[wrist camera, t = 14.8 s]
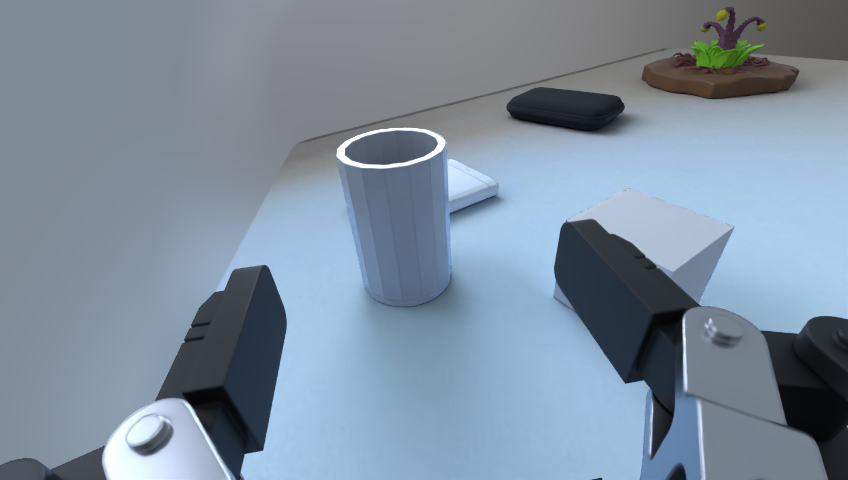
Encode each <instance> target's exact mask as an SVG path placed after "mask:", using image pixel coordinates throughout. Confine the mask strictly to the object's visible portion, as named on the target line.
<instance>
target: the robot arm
mask: <svg viewBox="0 0 848 480" xmlns="http://www.w3.org/2000/svg"><path fill="white" fill-rule="evenodd" d="M554 273H555V278H556V281H557V284H558V286H559V288H560V289H561V291H562V292H563V294H564V295H565V297H566V298H567V300H568V301H569V302H570V304H571V305H572V307H573V308H574V310H575V311H576V313H577V314H578V316H579V317H580V319H581V320H582V321H583V323H584V324H585V326H586V327H587V329H588V330H589V332H590V333H591V335H592V336H593V337H594V339H595V340H596V342H597V343H598V345H599V346H600V348H601V349H602V351H603V352H604V354H605V355H606V356H607V358H608V359H609V361H610V362H611V364H612V365H613V367H614V368H615V370H616V371H617V372H618V374H619V375H620V377H621V378H622V380H623V381H624V383H625V384H626V383H632V382H637V381H642V380H644V381H645V382H646V383H647V385H648V386H649V387H650V389H649V391H648V393H647V397H646V412H645V427H644V443H643V459H642V469H641V475H640V479H639V480H848V428H847V427H846V426H848V319H843V318H839V317H832V316H819V317H815V318H812V319H810V320H809V321H808V322H807V324H806V325H805V326H804V328H803V329H802V330H801V332H800V333H799V334H794V333H783V332H772V331H760V330H759V329H758V328H757V327H755V326H754V325H753V324H752V323H750V322H749V321H748V320H746V319H744V318H743V317H741V316H739V315H737V314H735V313H732V312H730V311H727V310H724V309H720V308H716V307H708V306H700V305H699V304H698V303H697V302H696V301H695V300H694V299H693V298H691V297H690V296H689V295H688V294H687V293H686V292H685V291H684V290H683V289H682V288H681V287H679V286H678V285H677V284H676V283H675V282H674V281H673V280H672V279H671V278H670V277H669V276H668V275H666V274H665V273H664V272H663V271H662V270H661V269H660V268H657V265H656V264H654V263H653V262H652V261H651V260H650V259H649V258H646V257H645V254H644V253H642V252H641V251H640V250H639V249H638V248H637V247H636V246H635V245H634V244H633V243H631V242H629V241H627V240H625V239H623V238H621V237H619V236H617V235H616V234H609V233H608V232H607V231H606V230H605V229H604V228H603V227H602V226H601V225H600V224H599V223H598V222H597V221H596V220H594V219H585V220H579V221H572V222H565V223H564V224H563V225H562V227H561V231H560V236H559V242H558V248H557V254H556V260H555V266H554ZM191 326H192V328H190V329H189V331H188V333H187V335H186V337H185V339H184V340H185V343H182V345H181V347H180V350H179V352H178V354H177V356H176V358H175V360H174V362H173V364H172V366H171V369H170V371H169V373H168V375H167V377H166V379H165V381H164V383H163V385H162V387H161V389H160V392H159V394H158V396H157V398H156V400H155V402H152V403H150V404H148V405H146V406H144V407H143V408H141V409H139V410H138V411H136V412H135V413H134V414H132V415H131V416H129V417H128V418H127V419H126V420H125V421H124V422H123V423H122V424H121V425H120V426H119V427H118V428H117V429H116V430H115V431H114V433H113V434H112V435H111V437H110V438H109V440H108V442H107V444H106V445H105V446H103V447H101V448H99V449H96V450H94V451H92V452H90V453H87V454H85V455H83V456H81V457H78V458H76V459H74V460H71V461H69V462H67V463H65V464H62V465H61V466H58V467H56V468H53V469H51V470H50V469H49V468H47V467H46V466H44V465H43V464H42V463H40V462H39V461H37V460H35V459H31V458H23V459H17V460H13V461H10V462H7V463H5V464H2V465H0V480H245V479H244V477H243V476H242V474H241V473H240V472H241V468H242V463H243V459H244V455H245V454H247V453H252V452H258V451H263V448H264V443H265V438H266V433H267V427H268V422H269V417H270V412H271V407H272V401H273V396H274V391H275V386H276V381H277V376H278V370H279V365H280V360H281V355H282V350H283V344H284V339H285V334H286V327H287V321H286V313H285V309H284V306H283V303H282V300H281V298H280V295H279V293H278V290H277V287H276V285H275V282H274V280H273V277H272V274H271V272H270V270H269V268H268V267H267V266H266V265H261V266H254V267H247V268H240V269H235V270H233V272H232V274H231V276H230V278H229V281H228V283H227V285H226V288H225V290H224V291H219V292H214V293H213V294H212V295H211V297H210V298H209V299H208V300H207V301H206V302H205V303H204V304H203V305H202V306H201V307H200V308H199V310H198V312H197V314H196V316H195V318H194V320H193V322H192V324H191ZM593 480H602V478H597V479H593Z"/></svg>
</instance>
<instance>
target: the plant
mask: <svg viewBox="0 0 848 480" xmlns="http://www.w3.org/2000/svg"><path fill="white" fill-rule="evenodd" d="M729 12H730V16H729V20H728V25H727V26H726V29H725V30H723V28H722V27H721V26H720V25H719V24H718V23H716V22H712V21H711V22H707V23H704V24H703V25H702V27H701V31H702V32H707V31H709V29H710V27H711V26H714V27H715V28H716V31H717V32H718V33H719V36H720V38H719V41H717V40H716V39H713V40H712V41H711V43H710V46H707V45H706V44H705V43H703V42H699V41H697V40H696V41H695V42H694V43H695V44H696V46H697V48H696V47H693V46H691V48H692V49H693V51H695V54H696V55H691V54H689V53H686V54H685V55H682V54H681V53H676V54H675V55H681V56H677V57H674V56H675V55H674V56H673V57H674V58H672V57H670V58H668V59H662V60H658V61H655V62H653V63H650V64H648V65H646V66H645V67H644V70H643V74H642V79H643V80H644V81H646V82H648V84H649V85H651V86H653V87H656V88H659V89H663V90H666V91H669V92H676V93H687V94H693V95H697V96H701V97H705V98H709V99H711V98H727V97H733V96H746V95H754V94H759V93H767V92H778V91H779V90H787V89H789V88H790V86H791V84H793V83H794V81H795V79H796V77H797V75H798V73H799V70H798V69H797V68H795V67H792V66H788V65H783V64H778V63H774V62H771V61H768V60H767V58H759V57H753V56H752V57H749V55H750V54H751V53H752V52H753V51H755V50H757V49H759V48H760V47H762V46H763V45H764V44H762V45H757V46H753V47H751V48H749V49H747V48H748V47H750V46H751V44H750V45H748V46H746V47H744V45H745V44H746V43H747V40H744V41H741V42H740V40H738V39H739V38H740V35H741V33H742V31H743V30H744V28H745V27H746V26H747V25H748V24H749V23H750V22H752V21H755V20H756V21H757V26H756V28H757V30H758V31H762V30H764V29H765V28H766V26H767V24H766V22H765V21H764V20H763V19H760V18H759V17H753V18H751V19H748V20H746V21H745V22H744V23H742V25H740V26H739V28H738V29H736V30H735V31H734V32H733V29H734V23H735V12H734V8H731V7H726V8H725V9H722V10H720V11H719V12H718V13H717V16H716V18H717V20H718V21H722V20H724V19H725V18H726V17H727V16H728V14H729ZM745 49H747V50H746V51H744V50H745ZM743 51H744V52H743ZM742 52H743V53H742ZM741 53H742V54H741ZM740 54H741V55H740ZM687 55H688V56H687Z"/></svg>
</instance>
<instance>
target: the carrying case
mask: <svg viewBox="0 0 848 480" xmlns="http://www.w3.org/2000/svg"><path fill="white" fill-rule="evenodd" d="M624 108H625V106H624V103H623V102H622V101H621V99H620V98H619V97H617V96H614V95H607V94H599V93H590V92H582V91H573V90H563V89H554V88H544V87H539V88H534V89H532V90H529V91H527V92H525V93H523V94H520V95H518V96H516V97H514V98H512V99H511V101H510V102H509V103H508V104H507V111H508V112H510V115H511V116H513V117H515V118H519V119H524V120H530V121H536V122H541V123H547V124H553V125H559V126H565V127H571V128H577V129H583V130H596V129H599V128H600V127H602V126H603V125H605V124H606V123H608V122H609V121H611V120H612V119H613V118H615V117H616V116H617V115H619V114H620V113H622V112H623V110H624Z"/></svg>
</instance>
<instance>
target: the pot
mask: <svg viewBox="0 0 848 480" xmlns="http://www.w3.org/2000/svg"><path fill="white" fill-rule="evenodd" d="M336 158H337V163H338V168H339V172H340V177H341V181H342V186H343V191H344V195H345V200H346V205H347V209H348V214H349V219H350V223H351V228H352V232H353V237H354V242H355V246H356V251H357V256H358V260H359V265H360V269H361V274H362V279H363V282H364V285H365V288H366V290H367V292H368V293H369V294H370V296H371V297H373V298H374V299H375V300H377V301H379V302H381V303H383V304H386V305H390V306H398V307H408V306H415V305H420V304H423V303H426V302H428V301H430V300H432V299H434V298H436V297H437V296H439V295H440V294H441V293H442V292H443V291H444V290H445V289H446V288H447V286H448V284H449V282H450V279H451V244H450V218H449V192H448V166H447V143H446V141H445V140H444V138H443V136H441V135H439V134H437V133H435V132H433V131H429V130H423V129H417V128H393V129H385V130H378V131H373V132H369V133H365V134H361V135H358V136H356V137H354V138H352V139H350V140H347V141H346V142H344V143H343V144H342V145H341V146H340V147H339V148H338V149H337V155H336Z"/></svg>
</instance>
